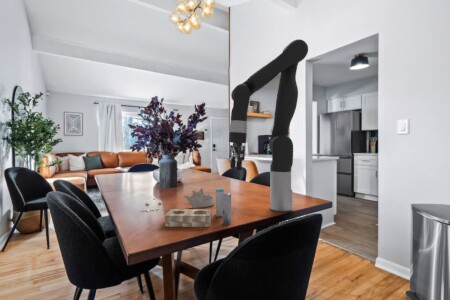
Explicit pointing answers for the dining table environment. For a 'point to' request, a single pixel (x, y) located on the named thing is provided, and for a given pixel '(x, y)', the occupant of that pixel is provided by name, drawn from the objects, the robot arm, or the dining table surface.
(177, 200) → the dining table surface
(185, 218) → the socket block
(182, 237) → the dining table surface
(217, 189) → the square bit
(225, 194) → the round bit
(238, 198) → the dining table surface
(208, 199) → the grey spiky piece
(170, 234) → the dining table surface
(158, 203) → the diorama
